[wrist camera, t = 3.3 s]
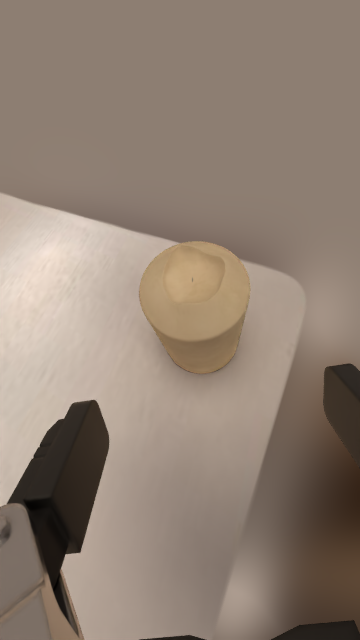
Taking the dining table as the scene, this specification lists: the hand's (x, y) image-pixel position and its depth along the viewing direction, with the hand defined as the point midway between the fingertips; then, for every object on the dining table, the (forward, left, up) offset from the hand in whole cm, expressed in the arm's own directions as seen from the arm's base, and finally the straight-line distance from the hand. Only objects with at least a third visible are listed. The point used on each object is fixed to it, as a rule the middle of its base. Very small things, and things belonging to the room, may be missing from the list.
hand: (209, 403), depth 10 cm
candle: (+3, -5, -11) cm, 12 cm away
